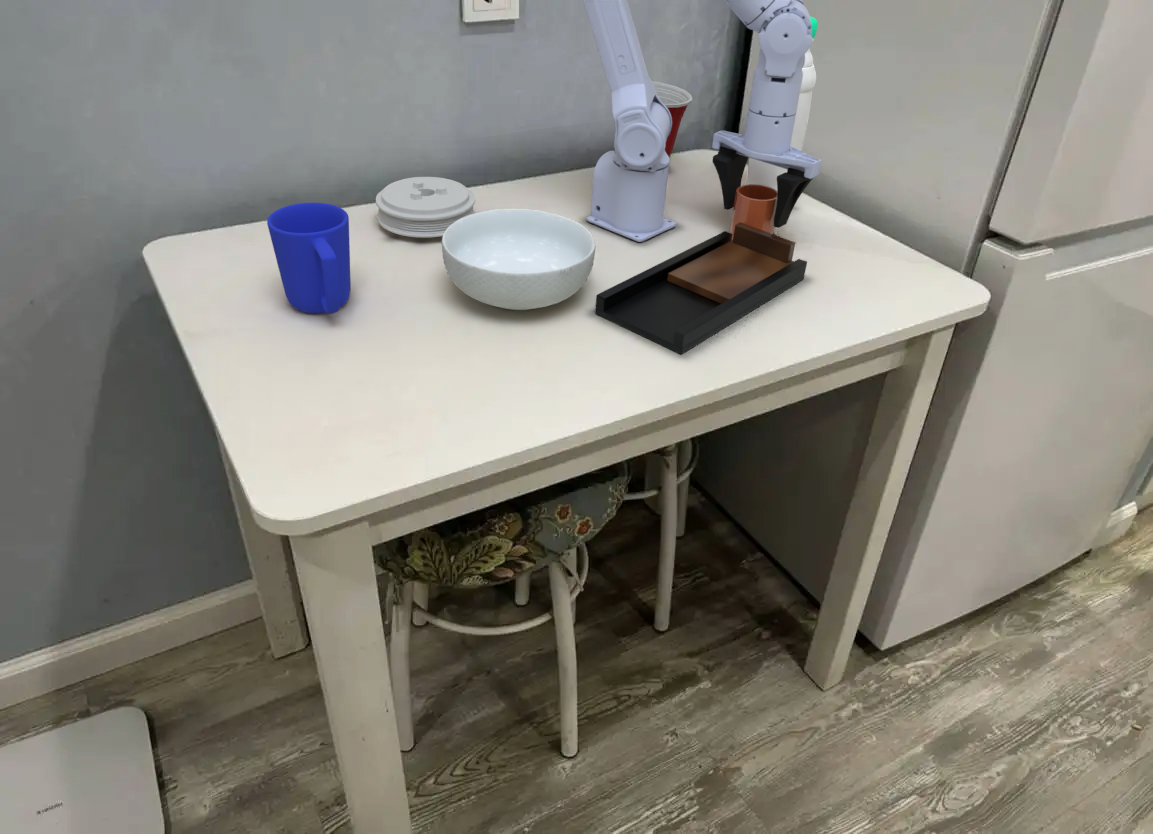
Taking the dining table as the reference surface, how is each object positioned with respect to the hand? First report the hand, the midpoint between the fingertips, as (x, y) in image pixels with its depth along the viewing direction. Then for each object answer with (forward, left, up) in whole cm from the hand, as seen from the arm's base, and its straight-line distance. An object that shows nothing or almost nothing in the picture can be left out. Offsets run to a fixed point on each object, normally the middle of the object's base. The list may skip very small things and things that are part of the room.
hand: (754, 216), depth 116 cm
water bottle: (-5, +12, -3) cm, 14 cm away
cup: (0, 0, -3) cm, 3 cm away
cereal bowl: (-10, -33, -3) cm, 35 cm away
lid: (-32, -28, -3) cm, 43 cm away
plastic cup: (-25, +10, -4) cm, 27 cm away
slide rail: (+5, -18, -3) cm, 18 cm away
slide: (+5, -12, -2) cm, 13 cm away
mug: (-22, -51, -3) cm, 56 cm away
